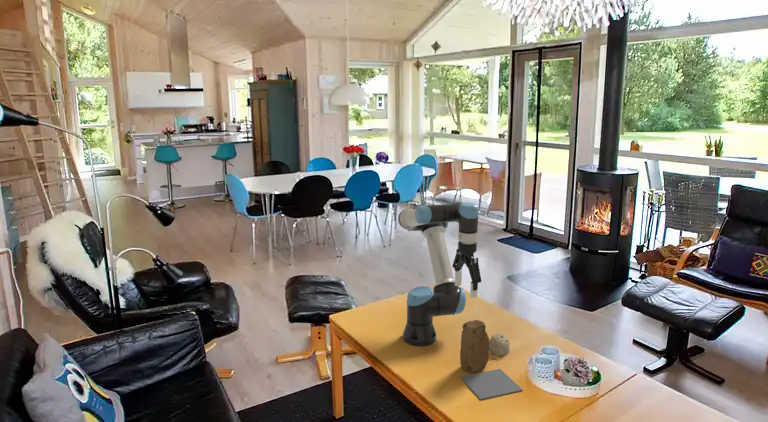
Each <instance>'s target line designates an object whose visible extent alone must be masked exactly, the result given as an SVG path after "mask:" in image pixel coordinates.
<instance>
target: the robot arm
mask: <svg viewBox="0 0 768 422" xmlns="http://www.w3.org/2000/svg"><path fill="white" fill-rule="evenodd" d="M397 221H398V222H397V223H398V224H399V225H400V227H401V228H402V229H404V230H406V231H411V232H415V231H416V232H419V231H420V232H421V233H422V234H421V235H422V236H423V237H424V238H425V239H426V242H427V247H428V252H429V258H430V262H431V263H430V264H431V266H432V267H431V268H432V272H433V277H434V282H435V284H434V286H433V288H432V287H430V286H417V287H413V288H412V289H410V290H409V291H408V293H407V298H406V323H405V326H404V329H403V332H402V340H403V341H404V342H405V343H407V344H408V345H412V346H417V347H418V346H419V347H422V346H423V347H426V346H429V345H432V344H434V343H435V342H436V340H437V332H436V329H435V326H434V323H433V321H434V317H439V316H440V317H442V316H443V317H444V316H454V315H459V314H461V313H463V312H464V311H465V308H466V301H467V299H466V298H467V295H466V292H465V289H464V288H463V287H459V286H462V277H463V276H462V275H463V271H462V270H463V267H464V265H465V266H466V267H467V269H468V271H469V276H470V278H471V281H470V292H469V293H470V294H469V298H471V299H473V298H478V289H479V288H478V286H479V283H482V277H481V271H480V267H479V258H478V257H475V255H474V254H475V253H476V252H477V248H478V243H477V242H478V226H479V205H478V204H476V203H473V202H463V203H462V202H459V201H452V202H450V203H445V204H444V203H443V204H429V205H426V204H424V205H423V204H422V205H418V206H412V207H407V208H405V209H403V210H402V211H400V213H399V214H398V216H397ZM455 222H456V223H458V235H457V237H458V243H457V249H456V252H455V256H454V260H453V263H452V266H451V261H450V256H449V252H448V247H447V242H446V239H445V233H446V231H447V228H448V226H449V223H455ZM452 268H453V269H454V275H453V270H452Z"/></svg>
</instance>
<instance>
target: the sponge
mask: <svg viewBox="0 0 768 422" xmlns="http://www.w3.org/2000/svg"><path fill="white" fill-rule="evenodd" d="M510 344H511V342H510V339H509V338H508V336H507V335H506V334H504V333H501V332H496V333H495V334H492V335H491V338H489V353H490V354H493V355H496V356H500V357H501V356H505V355H508V354H509V353H510Z"/></svg>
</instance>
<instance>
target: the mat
mask: <svg viewBox="0 0 768 422" xmlns="http://www.w3.org/2000/svg"><path fill="white" fill-rule="evenodd" d="M459 378H460V379H461V380H462V381H463V383H464V384H465V385H466V387H468V389H470V390H471V391H472V392H473V394H475V396H476V397H477V398H478V399H479V400H480V401H483V400H488V399H491V398H492V399H493V398H496V397H501V396H504V395H511V394H515V393H519V392H523V388H522V387H521V386H519V384H517V383H516V381H514V380H513V379H512V378H511V377H510V376H508V375H507V373H505V372H504V371H503V370H502V369H501V368H496V369H492V370H487V371H481V372H475V373H471V374H467V375H463V376H459Z"/></svg>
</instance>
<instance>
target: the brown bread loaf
mask: <svg viewBox="0 0 768 422" xmlns="http://www.w3.org/2000/svg"><path fill="white" fill-rule="evenodd" d="M460 336H461V338H460V350H459V352H460V353H459V354H460V355H459V356H460V357H459V359H460V360H459V361H460V362H459V363H460V366H461V368H462V369H464V370H465V372H470V373H479V372H480V371H481V370H483V369H485V368H486V366H487V364H488V362H489V356H490V352H489V340H490V338H489V335H488V332H487V331H486V324H485V323H484V322H483V321H482V320H479V319H473V320H469V321H467V322H465V323H464V322H463V324H462V331H461V335H460Z"/></svg>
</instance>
